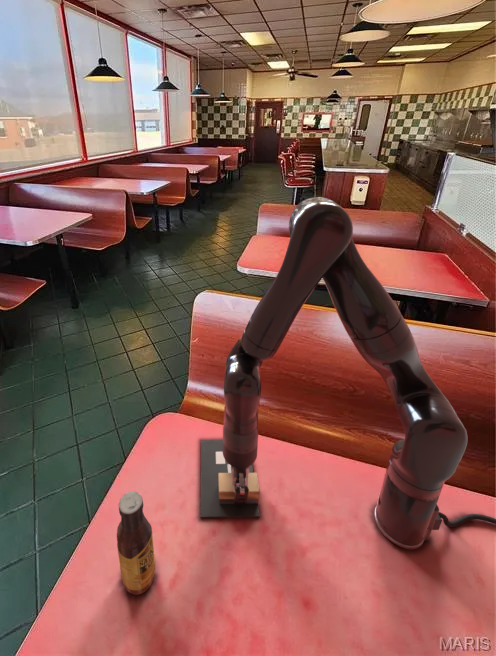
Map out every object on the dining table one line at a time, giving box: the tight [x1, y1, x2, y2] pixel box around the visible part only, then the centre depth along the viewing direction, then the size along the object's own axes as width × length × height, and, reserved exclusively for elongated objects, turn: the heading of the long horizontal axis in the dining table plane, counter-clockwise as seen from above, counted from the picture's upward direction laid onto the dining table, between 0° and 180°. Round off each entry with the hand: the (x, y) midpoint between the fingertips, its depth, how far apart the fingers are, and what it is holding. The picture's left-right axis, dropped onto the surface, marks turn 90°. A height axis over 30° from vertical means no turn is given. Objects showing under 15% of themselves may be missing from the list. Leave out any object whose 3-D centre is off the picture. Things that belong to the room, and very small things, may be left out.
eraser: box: [219, 472, 260, 505], centre depth 76 cm, size 9×4×4 cm, turn 90°
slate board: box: [200, 439, 261, 519], centre depth 81 cm, size 13×20×1 cm, turn 1°
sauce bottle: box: [116, 490, 156, 596], centre depth 59 cm, size 6×6×20 cm
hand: (238, 492), depth 76 cm, fingers closed on eraser, 4 cm apart
